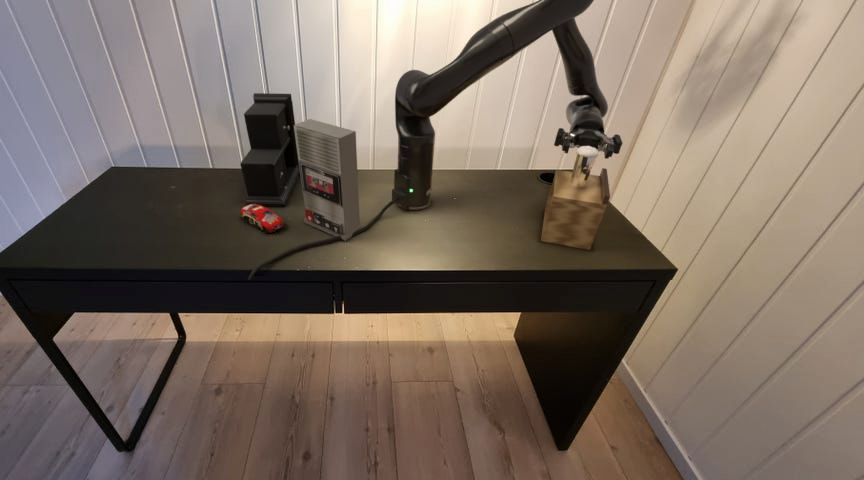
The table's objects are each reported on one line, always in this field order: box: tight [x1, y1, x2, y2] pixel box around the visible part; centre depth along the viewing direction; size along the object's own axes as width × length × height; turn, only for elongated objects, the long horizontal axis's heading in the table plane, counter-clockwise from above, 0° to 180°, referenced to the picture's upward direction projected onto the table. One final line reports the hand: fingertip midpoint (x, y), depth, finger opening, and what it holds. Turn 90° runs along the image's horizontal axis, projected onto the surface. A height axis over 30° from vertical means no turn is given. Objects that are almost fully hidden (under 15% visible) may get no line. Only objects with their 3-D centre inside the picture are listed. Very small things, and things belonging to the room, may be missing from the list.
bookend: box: [239, 92, 300, 207], centre depth 113 cm, size 23×11×24 cm, turn 178°
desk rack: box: [540, 167, 611, 251], centre depth 98 cm, size 11×15×14 cm
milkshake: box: [570, 144, 607, 188], centre depth 92 cm, size 4×5×10 cm
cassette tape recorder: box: [294, 118, 362, 242], centre depth 95 cm, size 14×6×25 cm, turn 53°
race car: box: [241, 204, 285, 234], centre depth 103 cm, size 13×5×4 cm, turn 49°
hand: (587, 151), depth 91 cm, fingers open, 8 cm apart
